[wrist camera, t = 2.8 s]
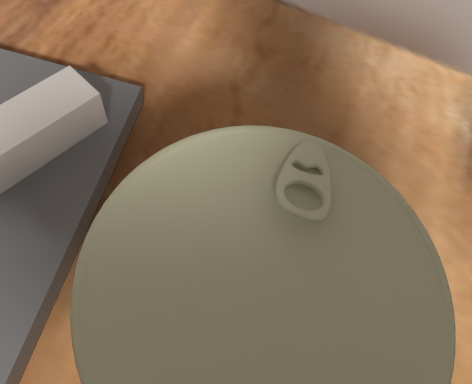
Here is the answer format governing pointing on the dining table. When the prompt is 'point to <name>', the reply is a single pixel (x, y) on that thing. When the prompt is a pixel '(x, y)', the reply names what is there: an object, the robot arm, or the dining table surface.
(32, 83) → the coupling stand
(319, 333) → the can
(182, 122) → the dining table surface
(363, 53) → the dining table surface
